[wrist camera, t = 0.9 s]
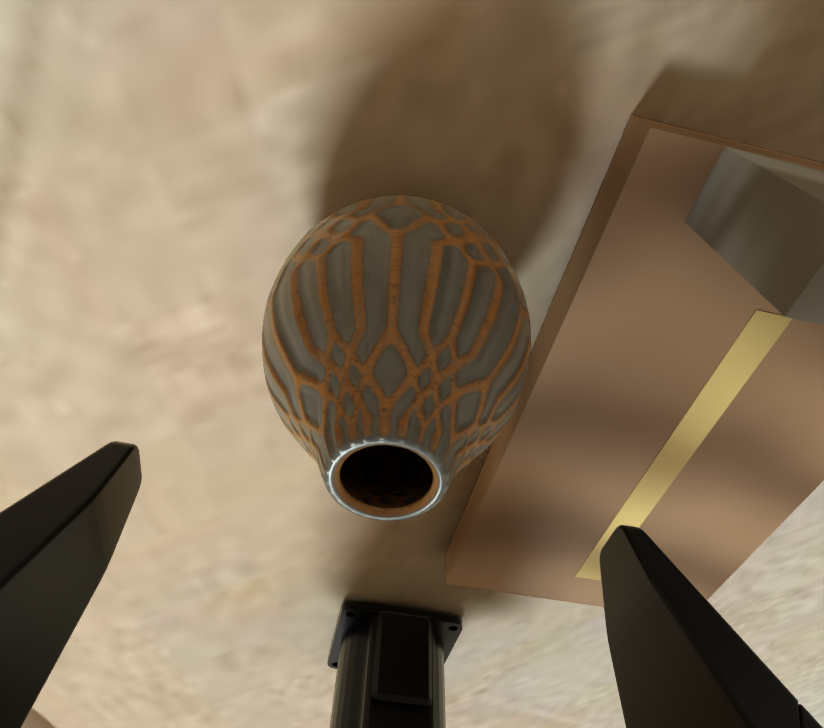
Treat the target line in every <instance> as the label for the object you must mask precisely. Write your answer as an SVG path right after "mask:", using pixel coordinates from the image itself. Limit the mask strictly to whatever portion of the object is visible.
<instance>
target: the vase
mask: <svg viewBox="0 0 824 728" xmlns="http://www.w3.org/2000/svg"><path fill="white" fill-rule="evenodd" d="M530 349H531V330H530V319H529V314H528V309H527V304H526V300H525V297H524V293H523V291H522V288H521V285H520V283H519V280H518V277H517V275H516V273H515V271H514V269H513V267H512V265H511V263H510V261H509V260H508V258H507V256H506V255H505V253H504V252H503V250H502V249H501V247H500V246H499V245H498V244H497V242H496V241H495V240H494V239H493V238H492V237H491V236H490V235H489V234H488V233H487V232H486V231H485V230H484V229H483V228H482V227H481V226H480V225H478V224H477V223H476V222H475V221H474V220H472V219H471V218H469V217H468V216H466V215H465V214H463V213H461V212H460V211H458V210H456V209H454V208H452V207H450V206H448V205H445V204H442V203H440V202H437V201H434V200H430V199H427V198H422V197H417V196H409V195H388V196H380V197H375V198H369V199H365V200H362V201H358V202H356V203H353V204H350V205H348V206H346V207H344V208H341V209H340V210H338V211H336V212H334V213H332V214H331V215H329V216H328V217H326V218H325V219H324V220H322V221H321V222H319V223H318V224H317V225H315V226H314V227H313V228H312V229H311V230H310V231H309V232H308V233H307V234H306V235H305V236H304V237H303V238H302V239H301V240H300V242H299V243H298V244H297V245H296V247H295V248H294V249H293V251H292V252H291V253H290V255H289V256H288V258H287V259H286V261H285V263H284V265H283V266H282V268H281V270H280V271H279V273H278V275H277V277H276V280H275V282H274V284H273V287H272V289H271V292H270V295H269V298H268V301H267V305H266V309H265V315H264V321H263V330H262V355H263V366H264V372H265V378H266V382H267V386H268V390H269V393H270V396H271V399H272V401H273V404H274V406H275V408H276V410H277V412H278V414H279V416H280V418H281V419H282V421H283V423H284V425H285V426H286V428H287V429H288V430H289V432H290V433H291V434H292V435H293V437H294V438H295V439H296V441H297V442H298V443H299V444H300V445H301V446H302V447H303V448H304V450H305V451H306V452H307V453H308V454H309V455H310V456H311V457H312V458H313V459H314V460H315V461H316V462H317V464H318V466H319V469H320V471H321V475H322V478H323V481H324V483H325V486H326V488H327V490H328V492H329V493H330V495H331V496H332V497H333V498H334V500H335V501H336V502H337V503H339V504H340V505H341V506H342V507H344V508H345V509H347V510H349V511H350V512H352V513H355V514H357V515H359V516H362V517H366V518H370V519H375V520H383V521H395V520H404V519H409V518H413V517H416V516H419V515H421V514H423V513H425V512H427V511H429V510H430V509H432V508H433V507H434V506H436V505H437V504H438V503H439V502H440V501H441V499H442V498H443V497H444V495H445V494H446V492H447V490H448V488H449V486H450V484H451V482H452V480H453V478H454V477H455V475H456V474H457V473H458V472H459V471H460V470H462V469H463V468H464V467H465V466H467V465H468V464H469V463H470V462H472V461H473V460H474V459H475V458H477V457H478V456H479V455H480V454H481V453H482V452H483V451H484V450H485V449H486V448H488V447H489V446H490V445H491V444H492V443H493V441H494V440H495V439H496V438H497V437H498V435H499V434H500V433H501V431H502V430H503V429H504V428H505V426H506V425H507V423H508V421H509V420H510V418H511V416H512V414H513V412H514V410H515V408H516V406H517V404H518V401H519V399H520V396H521V393H522V390H523V387H524V384H525V380H526V375H527V370H528V366H529V358H530Z"/></svg>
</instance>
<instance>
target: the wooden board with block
mask: <svg viewBox="0 0 824 728" xmlns="http://www.w3.org/2000/svg"><path fill="white" fill-rule="evenodd" d="M823 480H824V163H820V162H816V161H812V160H808V159H804V158H800V157H796V156H792V155H788V154H784V153H780V152H777V151H773V150H769V149H765V148H761V147H757V146H753V145H749V144H745V143H741V142H737V141H733V140H729V139H725V138H721V137H717V136H713V135H709V134H705V133H701V132H697V131H693V130H689V129H685V128H681V127H677V126H673V125H669V124H665V123H661V122H657V121H653V120H650V119H646V118H642V117H638V116H634V115H631V117H630V119H629V121H628V124H627V126H626V129H625V131H624V133H623V136H622V138H621V140H620V143H619V145H618V148H617V150H616V152H615V155H614V157H613V159H612V162H611V164H610V166H609V169H608V171H607V174H606V176H605V178H604V181H603V183H602V185H601V188H600V190H599V193H598V195H597V197H596V200H595V202H594V204H593V207H592V209H591V211H590V214H589V216H588V219H587V221H586V223H585V226H584V228H583V230H582V233H581V235H580V237H579V240H578V242H577V245H576V247H575V249H574V252H573V254H572V256H571V259H570V261H569V264H568V266H567V268H566V271H565V273H564V275H563V278H562V280H561V282H560V285H559V287H558V290H557V292H556V294H555V297H554V299H553V301H552V304H551V306H550V309H549V311H548V313H547V316H546V318H545V320H544V323H543V325H542V327H541V330H540V332H539V335H538V337H537V339H536V342H535V344H534V346H533V349H532V351H531V353H530V358H529V366H528V370H527V375H526V380H525V384H524V387H523V390H522V393H521V396H520V399H519V401H518V404H517V406H516V408H515V410H514V412H513V414H512V416H511V418H510V420H509V421H508V423H507V425H506V426H505V428H504V429H503V430H502V431H501V433H500V434H499V435H498V437H497V438H496V439H495V440H494V441H493V443H492V446H491V448H490V451H489V453H488V455H487V458H486V460H485V462H484V465H483V467H482V470H481V472H480V474H479V477H478V479H477V481H476V484H475V486H474V488H473V491H472V493H471V496H470V498H469V500H468V503H467V505H466V507H465V510H464V512H463V514H462V517H461V519H460V522H459V524H458V526H457V529H456V531H455V533H454V536H453V538H452V541H451V543H450V545H449V548H448V550H447V552H446V555H445V563H446V584H450V585H457V586H464V587H471V588H478V589H484V590H491V591H498V592H505V593H512V594H519V595H525V596H532V597H539V598H546V599H553V600H560V601H566V602H573V603H580V604H587V605H594V606H601V607H604V600H603V591H602V581H601V571H600V552H601V550H602V548H603V546H604V545H605V543H606V542H607V540H608V539H609V537H610V536H611V535H612V533H613V532H614V530H615V529H616V528H617V527H618V526H620V525H627V526H634V527H638V528H641V529H642V530H643V531H644V532H645V533H646V534H647V535H648V536H649V537H650V538H651V539H652V540H653V541H654V542H655V544H656V545H657V546H658V547H659V548H660V549H661V550H662V551H663V552H664V553H665V555H666V556H667V557H668V558H669V559H670V560H671V561H672V562H673V563H674V564H675V566H676V567H677V568H678V569H679V570H680V571H681V572H682V573H683V574H684V576H685V577H686V578H687V579H688V580H689V581H690V582H691V583H692V584H693V585H694V587H695V588H696V589H697V590H698V591H699V592H700V593H701V594H702V595H703V596H704V598H705V599H706V600H708V598H709V597H710V596H711V595H712V594H713V593H714V592H715V591H716V590H717V589H718V588H719V587H720V586H721V585H722V584H723V583H724V582H725V581H726V580H727V579H728V578H729V577H730V576H731V575H732V574H733V573H734V572H735V571H736V570H737V569H738V568H739V567H740V566H741V565H742V564H743V563H744V561H745V560H746V559H747V558H748V557H749V556H750V555H751V554H752V553H753V552H754V551H755V550H756V549H757V548H758V547H759V546H760V545H761V544H762V543H763V542H764V541H765V540H766V539H767V538H768V537H769V536H770V535H771V534H772V533H773V532H774V531H775V530H776V529H777V528H778V527H779V526H780V524H781V523H782V522H783V521H784V520H785V519H786V518H787V517H788V516H789V515H790V514H791V513H792V512H793V511H794V510H795V509H796V508H797V507H798V506H799V505H800V504H801V503H802V502H803V501H804V500H805V499H806V498H807V497H808V496H809V495H810V494H811V493H812V492H813V491H814V490H815V489H816V487H817V486H818V485H819V484H820V483H821V482H822V481H823Z"/></svg>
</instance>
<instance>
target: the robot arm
mask: <svg viewBox="0 0 824 728" xmlns="http://www.w3.org/2000/svg"><path fill="white" fill-rule="evenodd" d="M141 479H142V474H141V464H140V455H139V449H138V447H137V446H136V445H134V444H130V443H123V442H117V441H114V442H111V443H108V444H107V445H105V446H104V447H102V448H100V449H99V450H97V451H96V452H94V453H93V454H91V455H90V456H88V457H86V458H85V459H83V460H82V461H80V462H79V463H77V464H75V465H74V466H72V467H71V468H69V469H68V470H66V471H65V472H63V473H61V474H60V475H58V476H57V477H55V478H54V479H52V480H50V481H49V482H47V483H46V484H44V485H43V486H41V487H39V488H38V489H36V490H35V491H33V492H32V493H30V494H29V495H27V496H25V497H24V498H22V499H21V500H19V501H18V502H16V503H14V504H13V505H11V506H10V507H8V508H7V509H5V510H4V511H2V512H0V728H21V726H22V725H23V723H24V721H25V719H26V717H27V715H28V714H29V712H30V710H31V708H32V706H33V704H34V702H35V701H36V699H37V697H38V695H39V693H40V691H41V690H42V688H43V686H44V684H45V682H46V680H47V679H48V677H49V675H50V673H51V671H52V669H53V667H54V666H55V664H56V662H57V660H58V658H59V656H60V655H61V653H62V651H63V649H64V647H65V645H66V644H67V642H68V640H69V638H70V636H71V634H72V632H73V631H74V629H75V627H76V625H77V623H78V621H79V620H80V618H81V616H82V614H83V612H84V610H85V609H86V607H87V605H88V603H89V601H90V599H91V597H92V596H93V594H94V592H95V590H96V588H97V586H98V585H99V583H100V581H101V579H102V577H103V575H104V573H105V571H106V569H107V567H108V564H109V562H110V560H111V557H112V555H113V553H114V550H115V548H116V545H117V543H118V540H119V538H120V535H121V533H122V530H123V528H124V526H125V523H126V521H127V518H128V516H129V513H130V511H131V508H132V506H133V503H134V501H135V498H136V496H137V493H138V491H139V488H140V485H141ZM600 571H601V581H602V591H603V600H604V610H605V619H606V628H607V636H608V642H609V647H610V653H611V657H612V662H613V667H614V672H615V676H616V681H617V686H618V691H619V696H620V700H621V705H622V710H623V715H624V719H625V724H626V728H822V726H821V725H820V724H819V723H818V722H817V721H816V720H815V719H814V718H813V717H812V715H811V714H810V713H809V712H808V711H807V710H806V709H805V708H804V707H803V706H802V705H801V704H798V700H797V699H796V698H795V697H794V696H793V695H792V694H791V692H790V691H789V690H788V689H787V688H786V687H785V686H784V685H783V684H782V683H781V681H780V680H779V679H778V678H777V677H776V676H775V675H774V674H773V673H772V671H771V670H770V669H769V668H768V667H767V666H766V665H765V664H764V663H763V662H762V660H761V659H760V658H759V657H758V656H757V655H756V654H755V653H754V652H753V651H752V649H751V648H750V647H749V646H748V645H747V644H746V643H745V642H744V641H743V639H742V638H741V637H740V636H739V635H738V634H737V633H736V632H735V631H734V630H733V628H732V627H731V626H730V625H729V624H728V623H727V622H726V621H725V620H724V619H723V617H722V616H721V615H720V614H719V613H718V612H717V611H716V610H715V609H714V608H713V606H712V605H711V604H710V603H709V602H708V601H707V600H706V599H705V598H704V596H703V595H702V594H701V593H700V592H699V591H698V590H697V589H696V588H695V587H694V585H693V584H692V583H691V582H690V581H689V580H688V579H687V578H686V577H685V576H684V574H683V573H682V572H681V571H680V570H679V569H678V568H677V567H676V566H675V564H674V563H673V562H672V561H671V560H670V559H669V558H668V557H667V556H666V555H665V553H664V552H663V551H662V550H661V549H660V548H659V547H658V546H657V545H656V544H655V542H654V541H653V540H652V539H651V538H650V537H649V536H648V535H647V534H646V533H645V532H644V531H643V530H642V529H641V528H638V527H634V526H627V525H620V526H618V527H617V528H616V529H615V530H614V532H613V533H612V535H611V536H610V537H609V539H608V540H607V542H606V543H605V545H604V546H603V548H602V550H601V552H600ZM461 631H462V620H461V618H459V617H456V616H450V615H443V614H436V613H429V612H422V611H414V610H407V609H400V608H393V607H386V606H379V605H371V604H364V603H357V602H345V603H344V604H343V605H342V607H341V610H340V614H339V618H338V622H337V626H336V630H335V634H334V637H333V641H332V645H331V649H330V653H329V657H328V666H329V667H331V668H335V669H337V676H336V684H335V692H334V699H333V707H332V715H331V723H330V728H446V725H445V687H444V663H445V661H446V659H447V658H448V656H449V654H450V652H451V650H452V648H453V646H454V644H455V642H456V640H457V638H458V637H459V635H460V633H461Z"/></svg>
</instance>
